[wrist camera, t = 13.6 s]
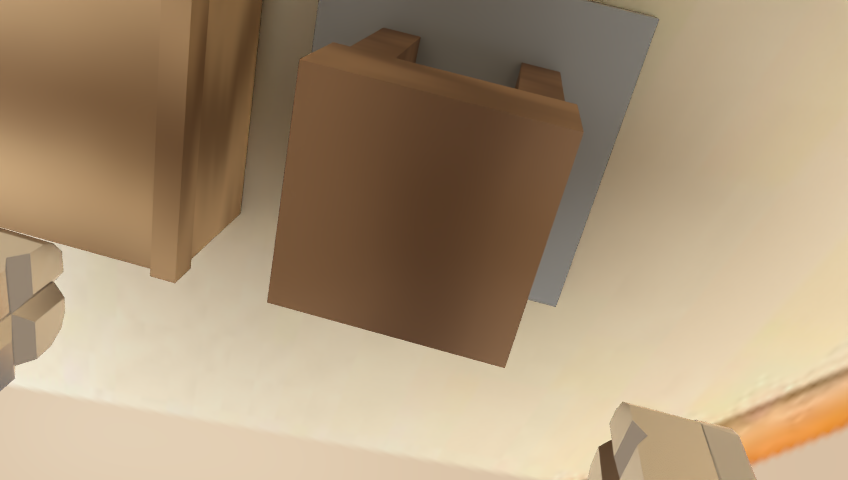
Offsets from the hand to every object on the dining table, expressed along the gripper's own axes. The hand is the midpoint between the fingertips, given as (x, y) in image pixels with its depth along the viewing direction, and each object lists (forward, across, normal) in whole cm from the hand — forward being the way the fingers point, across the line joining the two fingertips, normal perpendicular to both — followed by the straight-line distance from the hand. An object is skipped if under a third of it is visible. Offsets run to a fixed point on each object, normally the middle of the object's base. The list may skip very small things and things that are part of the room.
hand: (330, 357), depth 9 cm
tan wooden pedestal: (+14, +12, +1) cm, 18 cm away
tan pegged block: (+13, 0, +1) cm, 13 cm away
